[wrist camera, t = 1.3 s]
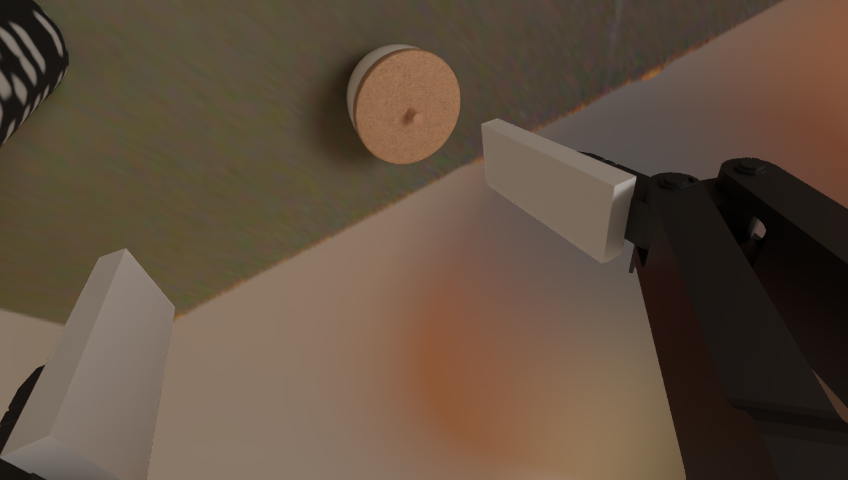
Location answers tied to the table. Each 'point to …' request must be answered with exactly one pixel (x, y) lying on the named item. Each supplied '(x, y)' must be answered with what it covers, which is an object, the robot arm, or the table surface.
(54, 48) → the white-spotted black cylinder
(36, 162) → the table surface
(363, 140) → the lidded jar
